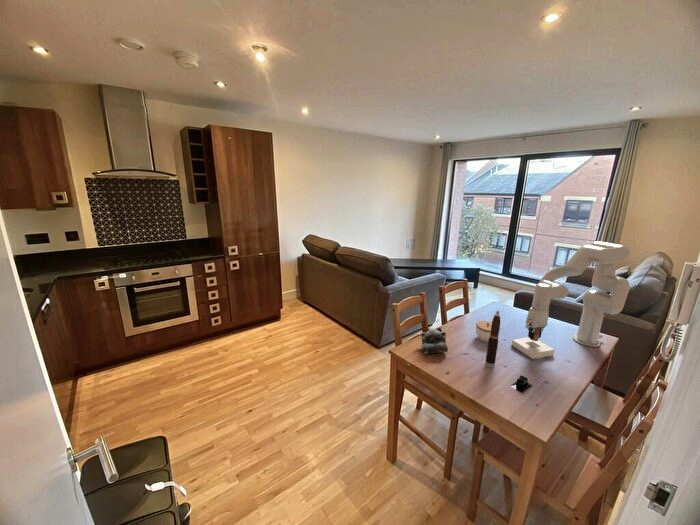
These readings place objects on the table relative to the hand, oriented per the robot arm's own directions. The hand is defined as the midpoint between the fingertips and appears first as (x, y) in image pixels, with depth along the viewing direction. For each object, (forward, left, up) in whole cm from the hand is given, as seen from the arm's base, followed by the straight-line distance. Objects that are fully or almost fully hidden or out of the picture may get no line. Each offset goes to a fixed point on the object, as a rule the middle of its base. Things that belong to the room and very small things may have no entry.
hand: (534, 337), depth 156 cm
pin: (0, 0, -1) cm, 1 cm away
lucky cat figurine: (+54, -14, -9) cm, 56 cm away
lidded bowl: (+16, -17, -9) cm, 25 cm away
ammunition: (+32, +5, -9) cm, 33 cm away
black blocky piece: (+29, +22, -9) cm, 38 cm away
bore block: (0, 0, -9) cm, 9 cm away
